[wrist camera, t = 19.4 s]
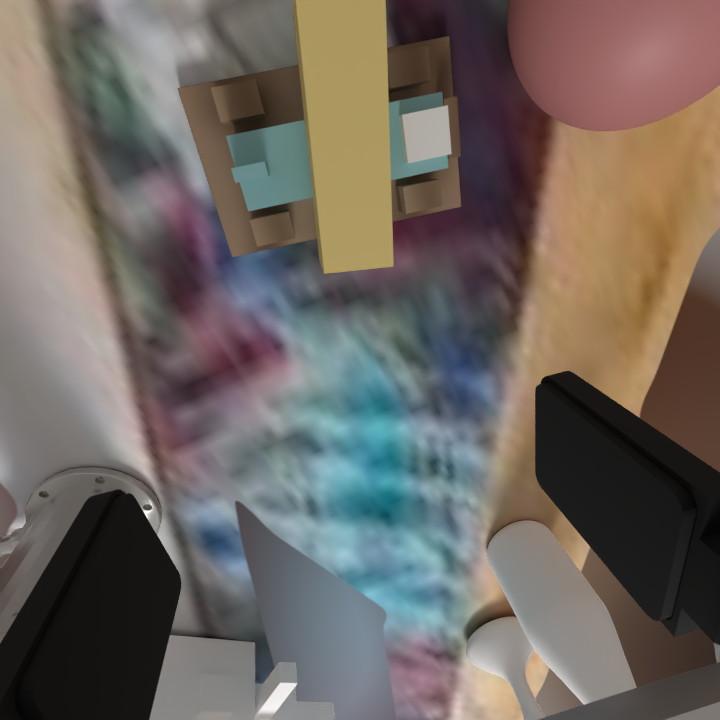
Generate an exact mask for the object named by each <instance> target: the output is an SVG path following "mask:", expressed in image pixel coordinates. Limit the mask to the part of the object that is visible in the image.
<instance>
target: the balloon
mask: <svg viewBox="0 0 720 720" xmlns="http://www.w3.org/2000/svg"><path fill="white" fill-rule="evenodd" d="M507 32H508V42H509V49H510V54H511V58H512V62H513V65H514V68H515V71H516V74H517V76H518V78H519V80H520V82H521V84H522V86H523V88H524V89H525V91H526V92H527V94H528V95H529V96H530V98H531V99H532V100H533V101H534V102H535V103H536V104H537V105H538V106H539V107H540V108H541V109H542V110H543V111H544V112H546V113H547V114H548V115H550V116H551V117H553V118H554V119H556V120H558V121H560V122H562V123H565V124H567V125H570V126H573V127H577V128H580V129H585V130H592V131H617V130H625V129H630V128H635V127H639V126H643V125H646V124H650V123H652V122H655V121H658V120H661V119H663V118H665V117H668V116H670V115H672V114H674V113H676V112H678V111H680V110H682V109H684V108H686V107H688V106H689V105H691V104H693V103H694V102H696V101H698V100H699V99H701V98H702V97H704V96H705V95H707V94H708V93H710V92H711V91H712V90H714V89H715V88H716V87H718V86H719V85H720V0H508V12H507Z"/></svg>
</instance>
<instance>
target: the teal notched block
mask: <svg viewBox="0 0 720 720" xmlns="http://www.w3.org/2000/svg"><path fill="white" fill-rule="evenodd" d="M389 131H390V164H391V180H395V179H400V178H404V177H409V176H414V175H418V174H423V173H427V172H432V171H437V170H441V169H446V168H448V156H447V155H449V154H452V153H451V140H450V128H449V115H448V105H447V106H443V96H442V92H438V93H434V94H429V95H424V96H419V97H414V98H409V99H404V100H399V101H395V102H390V103H389ZM226 138H227V141H228V145H229V148H230V151H231V155H232V158H233V161H234V165H235V168H231V170H232V173H233V177H234V180H235V183H238V182H240V185H241V188H242V192H243V195H244V199H245V202H246V205H247V209H248V211H253V210H257V209H262V208H267V207H271V206H276V205H280V204H285V203H289V202H294V201H299V200H303V199H308V198H312V197H313V195H312V185H311V176H310V167H309V157H308V148H307V139H306V130H305V120H302V121H297V122H292V123H287V124H282V125H278V126H273V127H268V128H263V129H258V130H253V131H248V132H243V133H239V134H234V135H229V136H226Z"/></svg>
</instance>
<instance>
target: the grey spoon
mask: <svg viewBox="0 0 720 720" xmlns="http://www.w3.org/2000/svg"><path fill="white" fill-rule="evenodd" d="M532 651H533V647H532V646H531V644H530V642H529V640H528V638H527V637H526V635H525V633H524V631H523V629H522V627H521V625H520V623H519V621H518V619H517V617H503V618H499V619H495V620H492V621H490V622H488V623H486V624H484V625H483V626H481V627H480V628H478V629H477V630H476V631H475V632H474V633H473V634H472V635H471V637H470V638H469V640H468V642H467V647H466V655H467V657H468V659H469V660H470V661H471V662H472V664H474V665H475V666H476V667H478V668H480V669H482V670H484V671H486V672H489V673H492V674H495V675H498V676H500V677H503V678H504V679H506V680H507V681H508V682H509V683H510V685H511V687H512V688H513V690H514V692H515V694H516V697H517V699H518V702H519V704H520V707H521V710H522V713H523V716H524V720H538V719H541V718H545V717H546V715H545V714H544V713H543V711H542V710H541V708H540V707H539V705H538V703H537V701H536V700H535V698H534V696H533V694H532V692H531V690H530V688H529V685H528V683H527V680H526V676H525V669H526V666H527V663H528V661H529V659H530V656H531V654H532Z"/></svg>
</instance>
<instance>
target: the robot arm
mask: <svg viewBox="0 0 720 720" xmlns="http://www.w3.org/2000/svg"><path fill="white" fill-rule="evenodd" d="M535 472H536V477H537V480H538V483H539V484H540V486H541V488H542V489H543V490H544V491H545V493H546V494H547V495H548V496H549V497H550V499H551V500H552V501H553V502H554V503H555V505H556V506H557V507H558V508H559V509H560V511H561V512H562V513H563V514H564V516H565V517H566V518H567V519H568V520H569V522H570V523H571V524H572V525H573V526H574V528H575V529H576V530H577V531H578V532H579V534H580V535H581V536H582V537H583V538H584V540H585V541H586V542H587V543H588V544H589V546H590V547H591V548H592V549H593V551H594V552H595V553H596V554H597V555H598V557H599V558H601V560H602V561H603V563H604V564H605V565H606V566H607V567H608V568H609V570H610V571H611V572H612V573H613V575H614V576H615V577H616V578H617V579H618V581H619V582H620V583H621V584H622V585H623V587H624V588H625V589H626V590H627V592H628V593H629V594H630V595H631V596H632V597H633V598H634V600H635V601H636V602H637V604H638V605H639V606H640V607H641V608H642V610H643V611H644V612H645V613H646V614H647V615H648V616H649V617H650V618H652V619H653V620H655V621H659V620H660V621H661V622H662V623H663V624H664V625H665V627H666V628H667V629H668V630H669V631H670V633H671V634H672V635H673V636H674V637H676V636H679V635H682V634H685V633H688V632H691V631H695V630H698V629H702V630H703V631H704V633H705V634H706V635H707V636H708V637H709V638H710V639H711V640H712V641H713V642H714V646H715V653H716V660H717V663H715V664H712V665H709V666H705V667H702V668H699V669H695V670H692V671H688V672H685V673H682V674H678V675H675V676H672V677H668V678H665V679H662V680H659V681H656V682H653V683H650V684H647V685H644V686H640V687H637V688H634V689H631V690H628V691H625V692H622V693H619V694H616V695H612V696H609V697H606V698H603V699H600V700H597V701H594V702H591V703H588V704H585V705H582V706H578V707H575V708H572V709H569V710H566V711H563V712H560V713H557V714H554V715H551V716H548V717H545V718H541V719H538V720H720V473H719V472H718V471H716V470H715V469H713V468H712V467H711V466H709V465H707V464H706V463H705V462H703V461H702V460H700V459H699V458H697V457H696V456H695V455H693V454H691V453H690V452H688V451H687V450H686V449H684V448H683V447H681V446H680V445H678V444H677V443H675V442H674V441H672V440H671V439H669V438H668V437H667V436H665V435H664V434H662V433H661V432H659V431H658V430H656V429H655V428H653V427H652V426H650V425H649V424H647V423H646V422H645V421H643V420H642V419H640V418H639V417H637V416H636V415H634V414H633V413H631V412H630V411H628V410H627V409H625V408H624V407H623V406H621V405H620V404H618V403H617V402H615V401H614V400H612V399H611V398H609V397H608V396H606V395H605V394H603V393H602V392H601V391H599V390H598V389H596V388H595V387H593V386H592V385H590V384H589V383H587V382H586V381H584V380H583V379H581V378H580V377H578V376H577V375H576V374H574V373H572V372H570V371H565V372H561V373H557V374H553V375H550V376H546V377H544V378H543V379H542V381H541V384H540V385H538V386H537V387H536V391H535ZM25 515H26V524H25V525H24V526H23V528H19V529H16V530H15V531H13V532H12V534H11V535H7V536H5V535H3V536H0V556H4V555H7V554H8V553H11V554H10V555H9V557H8V558H7V559H6V561H5V562H4V564H3V565H2V567H1V568H0V720H149V719H150V715H151V711H152V706H153V702H154V698H155V694H156V690H157V686H158V682H159V678H160V674H161V669H162V665H163V661H164V657H165V653H166V649H167V645H168V641H169V637H170V632H171V628H172V624H173V620H174V616H175V612H176V608H177V604H178V600H179V595H180V591H181V578H180V574H179V572H178V570H177V569H176V567H175V565H174V564H173V562H172V560H171V558H170V557H169V555H168V553H167V551H166V550H165V548H164V546H163V545H162V543H161V541H160V539H159V538H158V536H157V533H158V530H159V527H160V524H161V518H162V512H161V507H160V504H159V502H158V500H157V498H156V496H155V495H154V494H153V493H152V491H151V490H150V489H149V488H148V487H146V486H145V485H144V484H143V483H142V482H140V481H138V480H137V479H135V478H133V477H132V476H129V475H127V474H124V473H122V472H119V471H115V470H111V469H106V468H97V467H84V468H76V469H70V470H66V471H63V472H60V473H57V474H55V475H54V476H52V477H50V478H48V479H46V480H45V481H44V482H43V483H42V484H41V485H39V487H38V488H37V489H36V490H35V492H34V493H33V494H32V495H31V497H30V499H29V501H28V503H27V506H26V511H25Z"/></svg>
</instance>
